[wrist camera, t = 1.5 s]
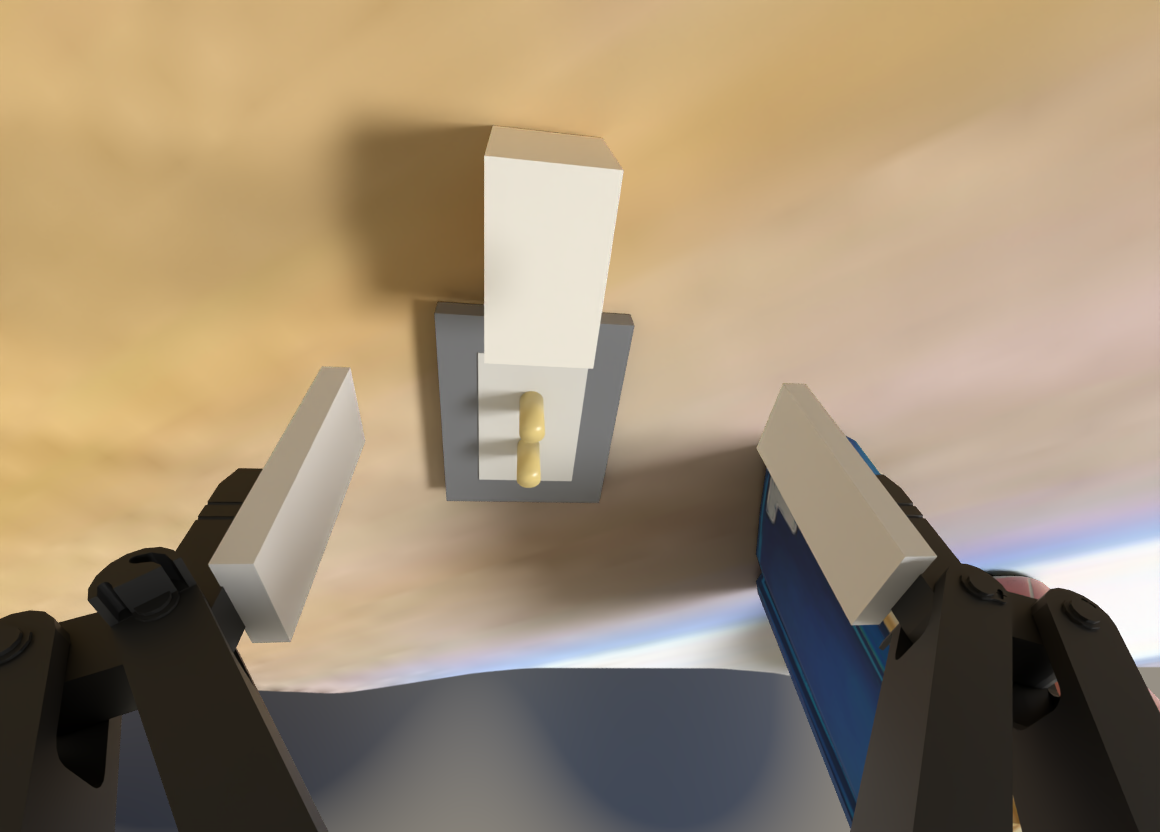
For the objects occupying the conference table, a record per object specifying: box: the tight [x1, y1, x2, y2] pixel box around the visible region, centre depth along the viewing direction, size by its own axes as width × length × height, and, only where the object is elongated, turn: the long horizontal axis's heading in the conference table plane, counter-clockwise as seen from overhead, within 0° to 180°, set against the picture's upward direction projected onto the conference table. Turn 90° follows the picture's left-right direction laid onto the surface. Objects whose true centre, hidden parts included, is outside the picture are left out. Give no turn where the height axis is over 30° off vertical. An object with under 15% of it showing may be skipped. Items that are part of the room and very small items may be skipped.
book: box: [756, 436, 1022, 832], centre depth 38 cm, size 22×7×25 cm, turn 9°
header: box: [434, 302, 634, 503], centre depth 35 cm, size 16×12×5 cm
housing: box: [484, 126, 624, 369], centre depth 26 cm, size 10×6×7 cm, turn 173°
